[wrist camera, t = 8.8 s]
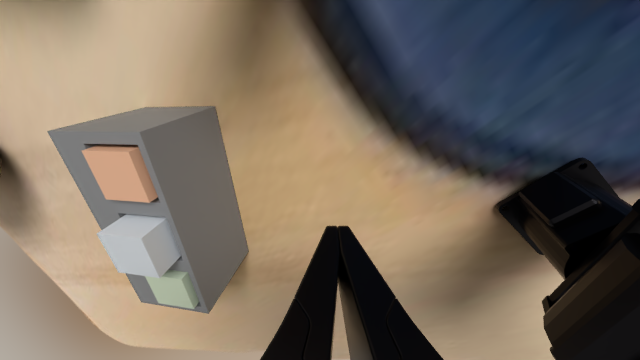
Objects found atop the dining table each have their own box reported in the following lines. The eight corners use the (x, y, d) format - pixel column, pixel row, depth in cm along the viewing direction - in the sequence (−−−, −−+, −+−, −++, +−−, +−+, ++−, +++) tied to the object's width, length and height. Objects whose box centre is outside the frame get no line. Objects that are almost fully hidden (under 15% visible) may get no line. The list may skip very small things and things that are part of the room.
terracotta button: (174, 133, 19) (128, 152, 15) (188, 176, 20) (149, 202, 17) (134, 132, 19) (81, 150, 16) (151, 174, 21) (106, 199, 17)
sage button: (210, 245, 23) (181, 279, 20) (219, 273, 25) (193, 309, 22) (177, 241, 24) (143, 273, 21) (187, 269, 26) (158, 303, 22)
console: (214, 106, 22) (139, 132, 15) (248, 251, 29) (208, 313, 22) (145, 107, 23) (47, 131, 16) (194, 245, 31) (141, 302, 24)
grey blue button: (182, 205, 20) (140, 238, 16) (195, 241, 21) (159, 278, 18) (144, 202, 20) (96, 233, 17) (159, 237, 22) (118, 272, 19)
